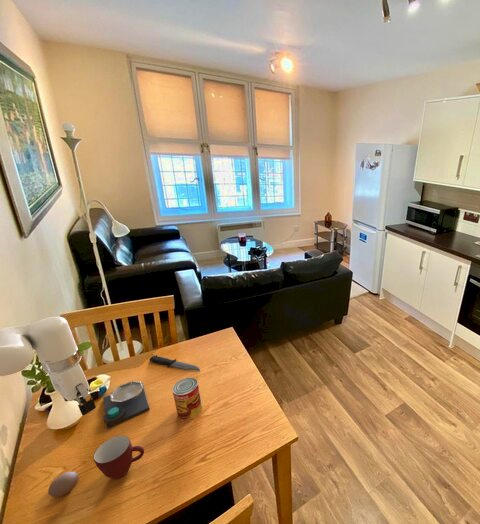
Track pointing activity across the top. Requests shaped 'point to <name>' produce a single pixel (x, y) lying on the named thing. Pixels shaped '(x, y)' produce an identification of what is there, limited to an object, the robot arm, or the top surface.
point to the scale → (125, 409)
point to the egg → (63, 484)
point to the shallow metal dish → (126, 392)
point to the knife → (172, 363)
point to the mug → (116, 456)
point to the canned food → (187, 398)
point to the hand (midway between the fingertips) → (80, 404)
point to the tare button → (113, 412)
